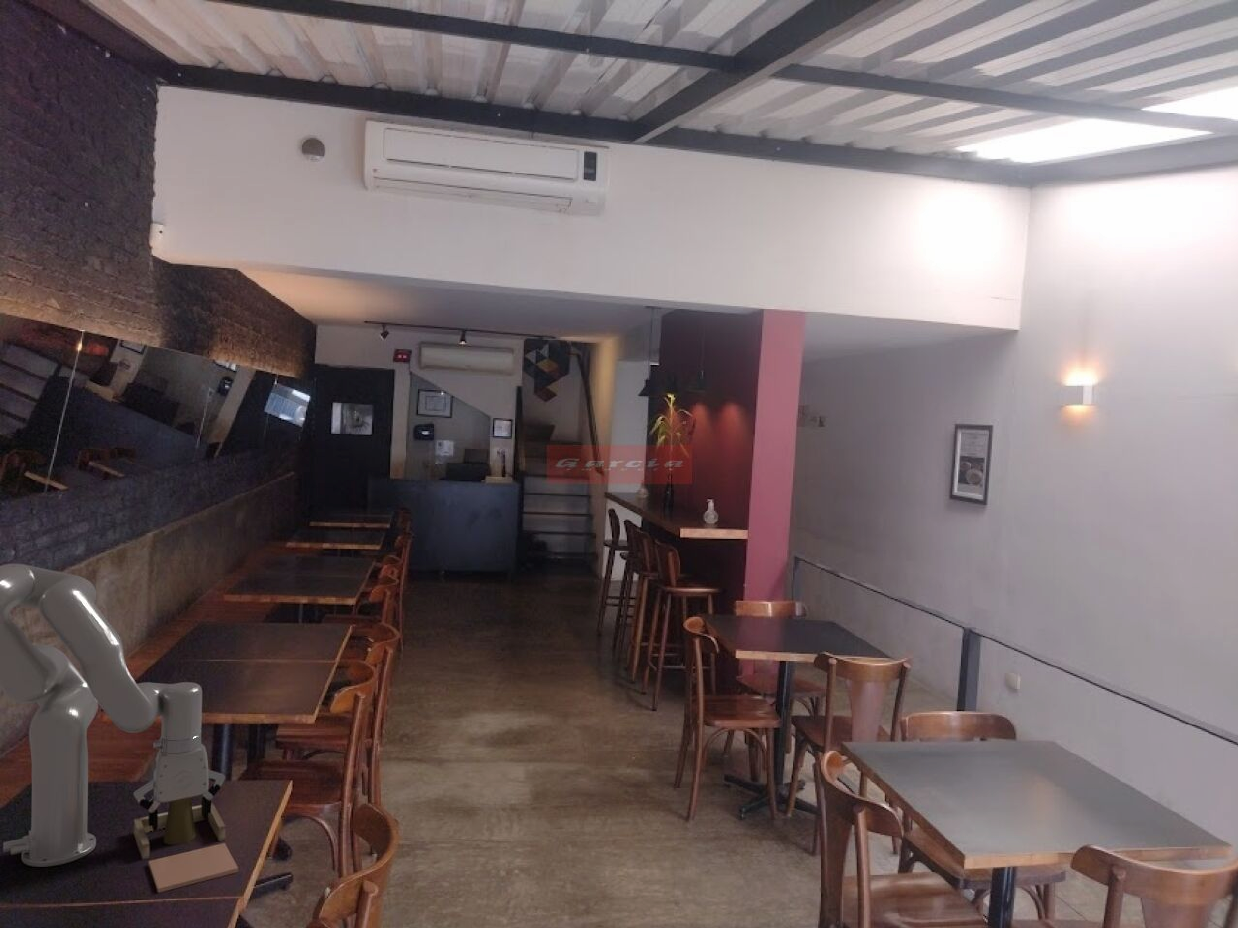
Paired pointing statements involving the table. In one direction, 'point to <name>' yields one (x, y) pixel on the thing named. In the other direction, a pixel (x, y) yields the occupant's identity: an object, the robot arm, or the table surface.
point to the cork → (179, 822)
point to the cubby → (143, 827)
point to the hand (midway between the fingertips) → (180, 822)
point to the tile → (192, 867)
